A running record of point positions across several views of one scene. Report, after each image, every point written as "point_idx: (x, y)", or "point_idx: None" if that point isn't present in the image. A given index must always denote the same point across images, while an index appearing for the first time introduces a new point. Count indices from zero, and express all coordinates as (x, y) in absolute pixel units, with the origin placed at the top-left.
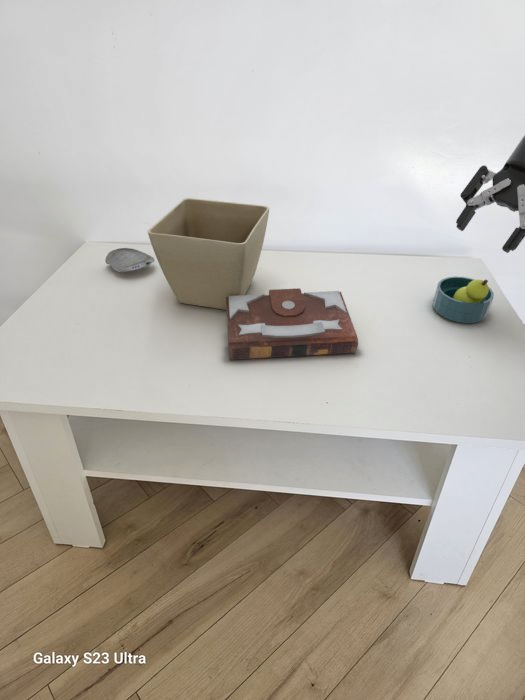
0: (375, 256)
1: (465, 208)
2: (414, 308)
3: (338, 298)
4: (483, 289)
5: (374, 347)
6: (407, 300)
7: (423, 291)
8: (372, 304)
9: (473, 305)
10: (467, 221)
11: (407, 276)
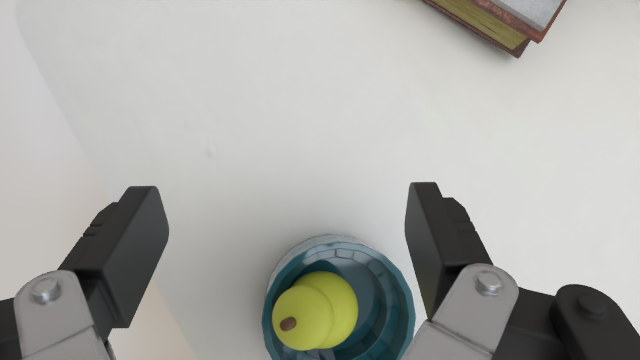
0: None
1: (484, 262)
2: None
3: (520, 4)
4: (280, 309)
5: (361, 18)
6: None
7: None
8: (478, 150)
9: (281, 269)
10: (416, 247)
11: None
